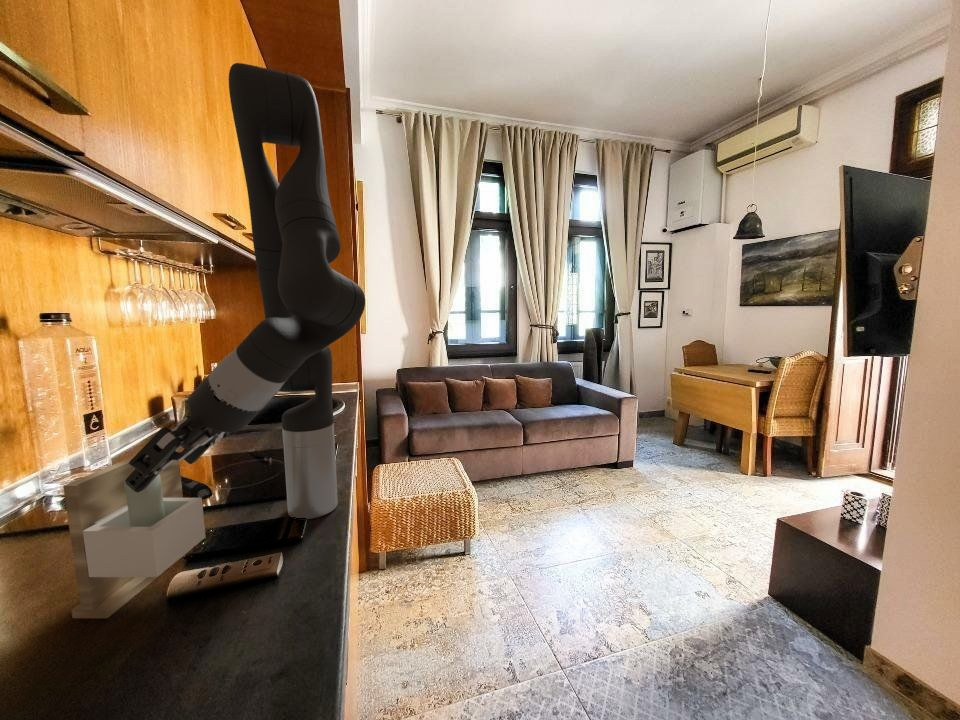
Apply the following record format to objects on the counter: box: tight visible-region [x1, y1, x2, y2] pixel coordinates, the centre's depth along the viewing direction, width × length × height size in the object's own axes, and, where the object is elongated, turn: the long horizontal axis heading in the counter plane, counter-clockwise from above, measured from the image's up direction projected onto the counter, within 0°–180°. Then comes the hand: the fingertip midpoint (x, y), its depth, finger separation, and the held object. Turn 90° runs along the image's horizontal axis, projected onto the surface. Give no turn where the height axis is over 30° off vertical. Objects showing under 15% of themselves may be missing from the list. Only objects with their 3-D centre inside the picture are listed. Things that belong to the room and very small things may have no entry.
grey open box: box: [83, 497, 206, 578], centre depth 52 cm, size 9×9×6 cm
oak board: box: [62, 449, 191, 619], centre depth 56 cm, size 16×4×18 cm, turn 0°
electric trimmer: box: [181, 475, 213, 501], centre depth 85 cm, size 4×16×3 cm, turn 60°
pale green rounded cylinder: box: [124, 473, 165, 527], centre depth 52 cm, size 4×4×10 cm
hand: (161, 471), depth 51 cm, fingers open, 8 cm apart
